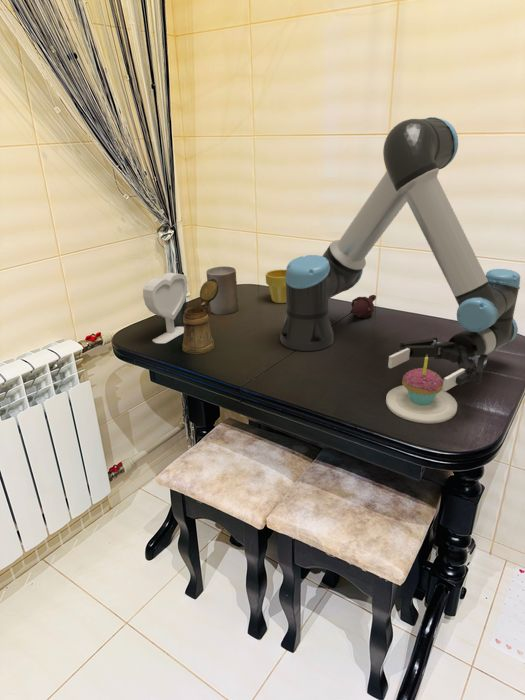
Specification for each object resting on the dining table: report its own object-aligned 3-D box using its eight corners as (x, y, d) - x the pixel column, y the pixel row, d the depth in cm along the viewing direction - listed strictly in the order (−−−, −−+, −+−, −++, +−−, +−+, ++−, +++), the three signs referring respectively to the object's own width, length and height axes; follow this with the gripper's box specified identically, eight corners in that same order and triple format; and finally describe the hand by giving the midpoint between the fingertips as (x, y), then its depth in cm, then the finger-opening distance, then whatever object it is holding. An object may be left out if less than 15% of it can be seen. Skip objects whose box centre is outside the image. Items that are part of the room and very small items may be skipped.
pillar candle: (241, 305, 173) (239, 262, 167) (233, 315, 164) (230, 270, 158) (214, 304, 175) (211, 262, 169) (205, 314, 167) (201, 270, 160)
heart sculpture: (160, 345, 144) (153, 285, 137) (147, 342, 147) (139, 283, 139) (193, 327, 157) (188, 270, 149) (180, 324, 159) (174, 268, 151)
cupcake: (442, 411, 107) (450, 360, 102) (401, 408, 108) (406, 357, 103) (438, 391, 114) (445, 343, 109) (399, 389, 116) (404, 341, 111)
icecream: (365, 307, 150) (386, 297, 161) (344, 297, 154) (366, 288, 165) (357, 327, 154) (379, 316, 165) (337, 317, 157) (360, 307, 168)
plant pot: (267, 295, 182) (267, 268, 178) (296, 295, 181) (296, 268, 177) (265, 305, 173) (264, 277, 169) (295, 305, 172) (295, 277, 168)
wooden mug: (230, 339, 147) (227, 280, 139) (200, 357, 137) (194, 294, 129) (207, 333, 152) (202, 275, 144) (175, 350, 142) (169, 288, 134)
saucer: (378, 414, 109) (378, 409, 108) (394, 383, 121) (394, 378, 120) (451, 430, 103) (452, 425, 102) (460, 395, 115) (461, 391, 114)
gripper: (521, 377, 111) (468, 412, 99) (423, 343, 129) (368, 368, 117) (527, 346, 108) (473, 378, 96) (427, 315, 125) (370, 339, 113)
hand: (415, 373), depth 106 cm, fingers open, 13 cm apart
